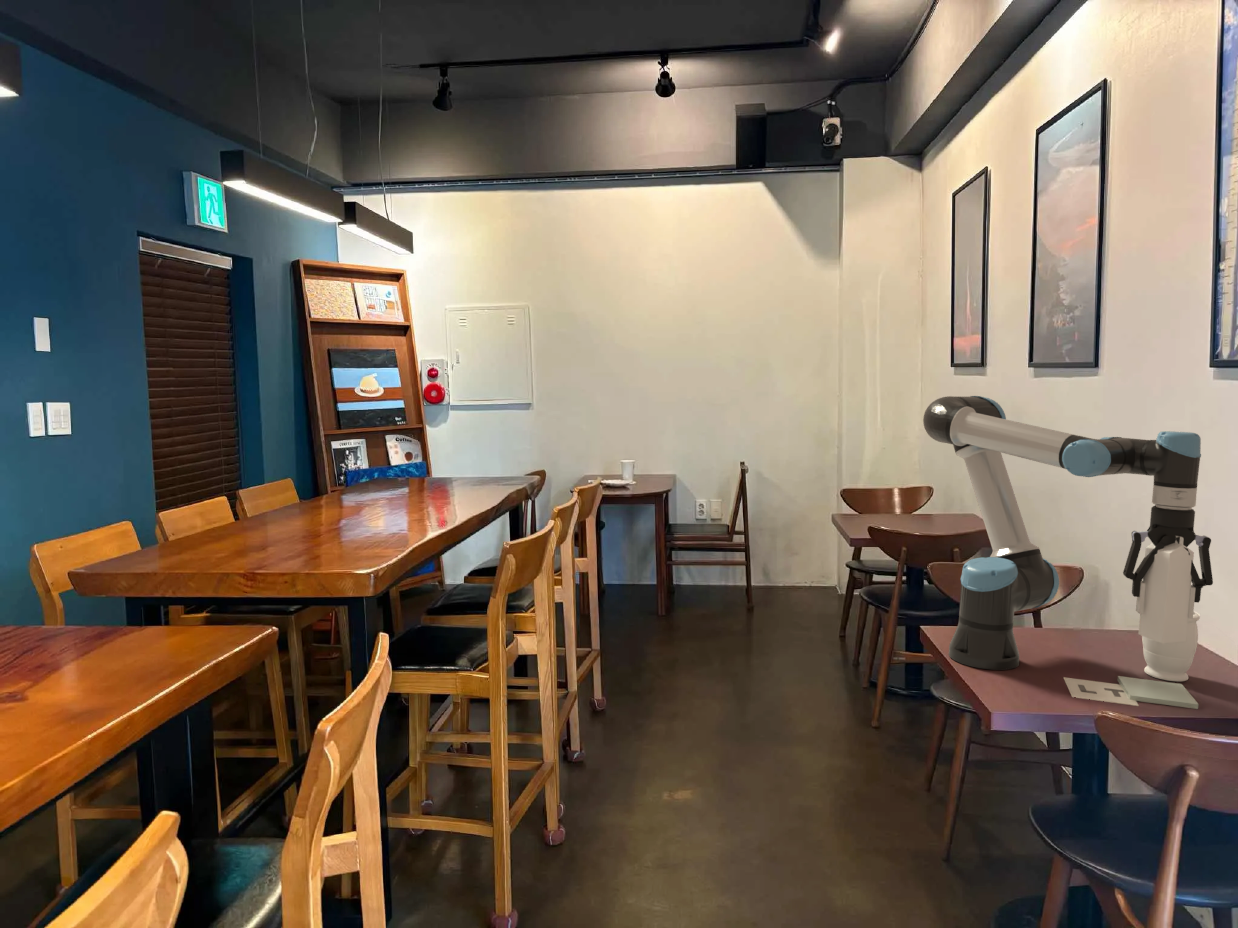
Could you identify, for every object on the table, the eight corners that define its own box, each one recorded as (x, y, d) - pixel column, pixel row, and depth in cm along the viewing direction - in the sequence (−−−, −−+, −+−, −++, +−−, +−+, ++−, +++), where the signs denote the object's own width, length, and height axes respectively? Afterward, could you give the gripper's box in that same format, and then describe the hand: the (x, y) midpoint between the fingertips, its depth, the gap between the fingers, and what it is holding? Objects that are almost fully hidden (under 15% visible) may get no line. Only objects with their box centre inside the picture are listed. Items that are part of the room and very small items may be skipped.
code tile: (1071, 701, 172) (1072, 696, 172) (1063, 681, 184) (1063, 676, 184) (1138, 710, 168) (1138, 705, 168) (1125, 689, 179) (1125, 684, 179)
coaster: (1129, 699, 171) (1130, 695, 171) (1117, 680, 183) (1117, 675, 182) (1198, 708, 167) (1198, 704, 167) (1181, 688, 178) (1181, 683, 178)
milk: (1161, 633, 177) (1170, 531, 175) (1186, 642, 171) (1196, 536, 169) (1137, 634, 176) (1146, 532, 173) (1161, 643, 170) (1171, 537, 168)
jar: (1195, 687, 179) (1201, 620, 177) (1138, 677, 184) (1144, 612, 183) (1192, 673, 188) (1198, 608, 186) (1138, 664, 193) (1144, 601, 192)
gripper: (1118, 505, 171) (1110, 613, 173) (1240, 513, 163) (1229, 625, 166) (1111, 500, 178) (1103, 604, 180) (1227, 507, 170) (1217, 615, 173)
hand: (1163, 614), depth 173 cm, fingers closed on milk, 8 cm apart
